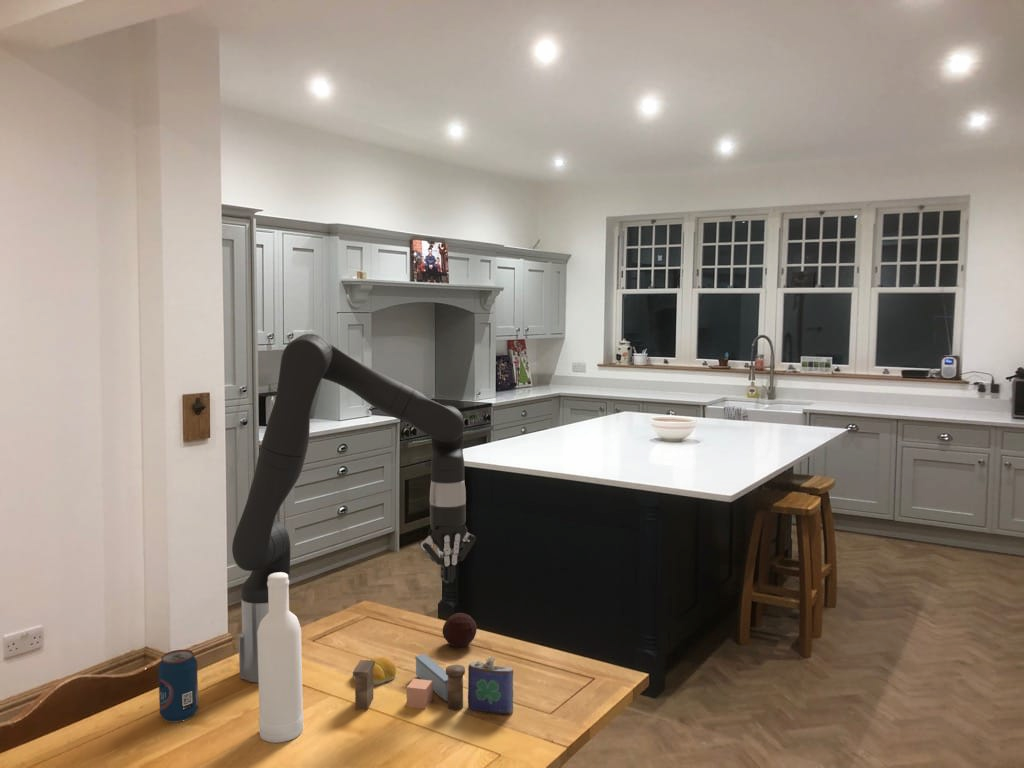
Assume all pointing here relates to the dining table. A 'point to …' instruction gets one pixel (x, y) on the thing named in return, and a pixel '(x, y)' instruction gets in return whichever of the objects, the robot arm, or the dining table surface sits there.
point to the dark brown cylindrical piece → (455, 686)
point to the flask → (490, 688)
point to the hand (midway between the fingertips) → (448, 581)
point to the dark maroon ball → (459, 630)
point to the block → (419, 693)
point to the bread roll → (382, 671)
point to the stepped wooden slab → (363, 684)
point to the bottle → (279, 666)
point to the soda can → (178, 685)
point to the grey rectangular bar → (432, 675)
